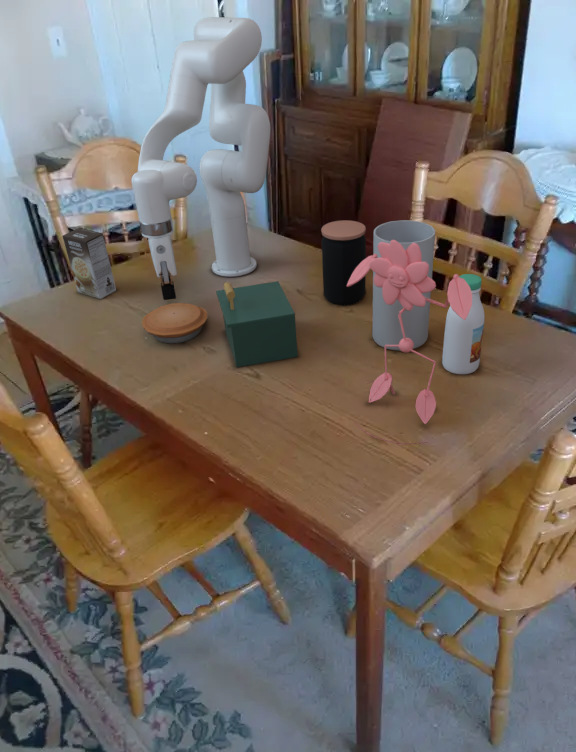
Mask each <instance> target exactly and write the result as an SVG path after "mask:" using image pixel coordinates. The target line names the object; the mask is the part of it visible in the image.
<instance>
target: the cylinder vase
mask: <svg viewBox="0 0 576 752" xmlns="http://www.w3.org/2000/svg"><path fill="white" fill-rule="evenodd" d="M391 240H396V241H397V242H399V243H400V244H401V245H402V246H403V248H404V249H405V251H406V249H407V248H408V247H409V246H410V245H411V244H412V243H416V244H418V246H419V247H420V250H421V255H422V262H427V263H428V265H429V271H428V275H427V276H428V277H430V278H431V279H432V280H433V269H434V254H435V243H436V242H435V240H436V229H435V228H434V227H433V226H432V225H430V224H429V223H427V222H424V221H423V222H422V221H418V220H407V219H403V220H391V221H387V222H384V223H381V224H379V225H377V226H376V227H375V228H374V229H373V243H372V244H373V247H372V248H373V250H372V252H373V254H377V256H378V257H377V258H380V257H381V258H382V256H381V254H380V252H379V250H378V244H379V243H380V242H385V243H389V244H390V241H391ZM373 254H372V255H373ZM375 274H376V273H375V272H374V271H373V270H372V334H371V335H372V339H373V341H374V342H375V344H377V345H378V346H380V347H381V348H384V346H385V345H399V342H400V340H402V339H403V338H404V337H403V333H402V329H401V325H400V322H399V318H398V314H399V311H401V310H402V309H403V308H404V307H403V306H402V305H401V303H400V302H399V301H398V299H397V300H396V301H395V302H394V304H392V305H388V304H386V303H385V301H384V298H383V294H382V287H377V286H376V285H375V284H374V276H375ZM422 294H423V296H424V297H426V298H428V299H431V297H432V291H431V292H427V293H422ZM431 300H432V299H431ZM430 311H431V303H430V302H428V301H426V304H425V306H423V307H419V306H415V305H414V306H413V308H412V310H410V311H408V310H405V311H404V312H403V313H402V314H401V317H402V322H403V327H404V332H405V337H406V338H410V339H411V340H412V341H413V343H414V347H413V349H412V350H414V349H417V348H419V347H422V346H423V345H424V344H425V343H426V341H427V340H428V338H429V325H430ZM384 349H385V348H384ZM386 350H390V351H399V352H402V351H401V350H400V349H399V347H388V346H386Z"/></svg>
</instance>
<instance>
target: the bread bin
mask: <svg viewBox="0 0 576 752" xmlns="http://www.w3.org/2000/svg"><path fill="white" fill-rule="evenodd" d="M222 317H223V324H224V331H225V332H224V333H225V335H226V338H227V341H228V345H229V349H230V351H231V354H232V357H233V360H234V364H235V367H236V368H240V367H241V368H242V367H246V366H247V367H248V366H253V365H259V364H264V363H271V362H275V361H276V362H277V361H282V360H288V359H292V358H298V356H299V355H298V341H297V338H298V337H297V325H296V316H295V317H290V318H284V319H278V320H272V321H266V322H260V323H253V324H247V325H241V326H235V327H229V328H227V325H226V322H225V319H224V315H223V314H222Z"/></svg>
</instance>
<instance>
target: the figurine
mask: <svg viewBox="0 0 576 752" xmlns="http://www.w3.org/2000/svg"><path fill="white" fill-rule="evenodd" d="M378 250H379V252H380V254H381V256H382V258H381V257H380V258H377V257H378V256H377V254H372V255H368V256H366V259H364V260H363V261H362V262H361V263H360V264H359V265H358V266H357V267H356V269H355V270H354V271H353V273H352V275H351V277H350V279H349V281H348V284H347V287H349V286H351V285H353V284H355V283H357V282H358V281H360V280H361V279H362V278H363V277H364V276H365V275H366V276H367V274H368V273H369V272H370V270H372V272H373V271H374V272H375V273H376V274H375V276H374V284H375V285H376V286H377V287H382V294H383V298H384V301H385V303H386V304H388V305H392V304H394V302H395V301H396V300H397V299H398V301H399V302H400V303H401V305H402V306H403V307H404V308H403V309H402V310H401V311H399V314H398V318H399V322H400V325H401V329H402V333H403V337H404V338H403V339H402V340H400V342H399V345H385V346H384V372H382V374H380V375H379V376H377V378H375V380H371V381H370V382H367V384H370V383H372V385H371V387H370V390H369V394H368V395H369V396H368V403H369V404H370V403H374V402H377V401H379V400H381V399H383V398H384V397H385V396H386V395H387V394H388V392H389V391H390V392H391V393H392V396H393V395H396V392H395V389H394V387H393V385H392V383H393V376H392V375H393V374H391V373H390V372H388V364H387V363H388V361H387V349H386V346H388V347H399V349H400V350H401V351H400V352H401V353H411V352H412V353H413V354H416V355H418V356H420V357H422V358H424V359H425V360H428V361H431V363H433V365H432V369H431V371H430V372H431V373H430V376H429V379H428V384H427V388H423V389H422V390H421V391H420V392H419V393H418V395H417V397H416V401H415V409H416V413H417V415H418V417H419V418H420V420H421V422H423V424H424V425H427V423H428V422H429V421H430V419H431V418H432V417H433V415H434V414H435V411H436V408H437V400H436V397H435V394H434V392H433V391H432V390H431V389H430V386H431V383H432V379H433V376H434V372H435V368H436V365H437V362H436V360H434V359H432V358H430V357H428V356H427V355H424V354H422V353H420V352H418V351H416V350H414V349H413V347H414V343H413V341H412V340H411V339H410V338H406V337H405V332H404V327H403V322H402V317H401V314H402V313H403V312H404V311H405V310H408V311H410V310H412V308H413V306H414V305H415V306H419V307H423V306H425V304H426V301H428V302H430V304H433V305H436V306H438V307H441V308H444V309H448V306H449V305H450V306H451V308H452V310H453V311H454V312H455V313H456V314H457V315H459V316H460V317H461V318H462V319H464V320H465V319H466V318H467V316H468V314H469V311H470V309H471V306H472V293H471V289H470V287H469V285H468V284H467V282H466V281H465V280H464V279H463V278H460V277H459V276H460V275H459V274H458V273H455V274H453V276H452V277H453V278H452V279H451V280H450V281H449V282H448V287H447V292H446V294H447V297H446V300H445V303H442V302H439V301H437V300H434V299H428V298H426V297H424V296H423V294H422V293H427V292H431V293H432V291H434V290H435V289H436V287H437V284H436V281H435V280H434V279H433V278H432V279H431V278H430V277H428V276H427V275H428V271H429V265H428V263H427V262H422V255H421V250H420V247H419V246H418V244H416V243H412V244H411V245H410V246H409V247H408V248H407V249H406V251H405V249H404V248H403V246H402V245H401V244H400V243H399V242H397V241H396V240H391V241H390V244H389V243H385V242H380V243H379V244H378ZM450 306H449V307H450ZM354 423H355V425H356V426H358V428H359V429H361V430H362V431H363V432H364V433H366V434H368V435H370V436H369V437H370V438H372V439H374V438H375V439H378V440H382V441H385V442H389V443H393V441H392V440H388V439H385V438H381V437H378V436H375V435H374V434H371V433H369V432H368V431H366V430H364V429H363V428H361V427H360V426H359V424H357V423H356V422H354ZM394 443H395V444H397V445H398V446H402V445H420V444H421V442H413V443H412V442H409V443H408V442H402V443H399V442H398V441H394ZM428 443H429V442H428V441H424V442H423V441H422V444H428Z"/></svg>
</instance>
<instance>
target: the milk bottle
mask: <svg viewBox="0 0 576 752" xmlns="http://www.w3.org/2000/svg"><path fill="white" fill-rule="evenodd" d="M459 277H460V278H463V279H464V280H465V281H466V282H467V284H468V285H469V287H470V289H471V293H472V306H471V309H470V311H469V314H468V316H467V318H466V319H465V320H464V319H462V318H461V317H460V316H459V315H457V314H456V313H455V312H454V311H453V310H452V308H451V306H449V308H448V309H447V314H446V318H445V326H444V336H443V346H442V358H441V359H442V360H441V364H442V367H443V368H444V369H445V370H446V371H447V372H449V373H452V374H455V375H456V374H457V375H468V374H471V373H474V372H475V371H477V369H479V366H480V362H481V353H482V347H483V346H482V345H483V338H484V330H485V321H486V320H485V319H486V318H485V317H486V316H485V315H486V314H485V309H484V306H483V303H482V301H481V297H480V291H481V290H482V280H483V279H482V277H481V276H479V275H477V274H473V273H465V274H464V273H463V274H461V275H459Z"/></svg>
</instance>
